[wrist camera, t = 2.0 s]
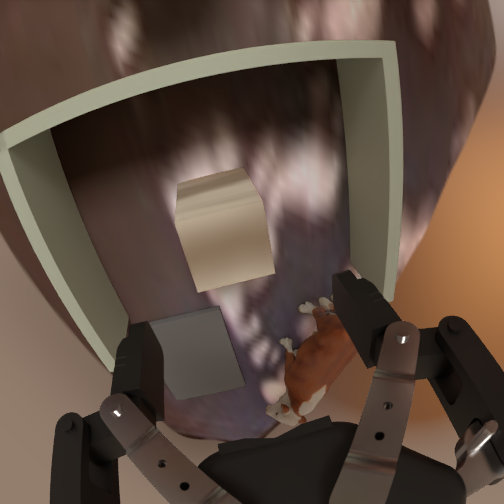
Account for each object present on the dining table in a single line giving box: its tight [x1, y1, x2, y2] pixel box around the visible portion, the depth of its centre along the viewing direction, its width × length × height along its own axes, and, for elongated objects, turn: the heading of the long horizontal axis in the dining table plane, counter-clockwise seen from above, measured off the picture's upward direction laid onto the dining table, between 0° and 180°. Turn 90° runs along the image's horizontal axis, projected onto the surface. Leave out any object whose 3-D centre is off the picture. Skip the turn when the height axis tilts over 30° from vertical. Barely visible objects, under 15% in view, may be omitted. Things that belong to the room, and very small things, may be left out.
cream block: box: [175, 167, 275, 293], centre depth 20 cm, size 5×5×6 cm
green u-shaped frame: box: [0, 40, 403, 372], centre depth 20 cm, size 18×22×6 cm
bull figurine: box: [266, 294, 358, 426], centre depth 28 cm, size 4×13×8 cm, turn 151°
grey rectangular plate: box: [149, 306, 246, 400], centre depth 30 cm, size 12×8×1 cm, turn 10°
